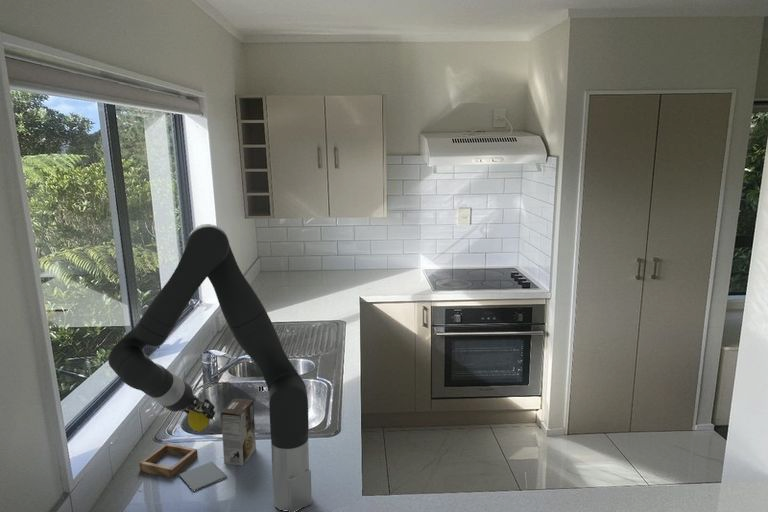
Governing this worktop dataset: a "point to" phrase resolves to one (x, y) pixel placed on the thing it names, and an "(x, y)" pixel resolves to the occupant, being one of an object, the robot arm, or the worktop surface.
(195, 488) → the mat
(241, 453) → the coffee box
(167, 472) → the holder
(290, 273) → the worktop surface
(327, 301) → the worktop surface
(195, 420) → the lemon
